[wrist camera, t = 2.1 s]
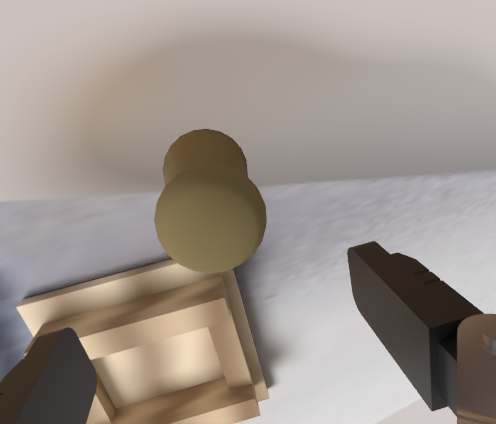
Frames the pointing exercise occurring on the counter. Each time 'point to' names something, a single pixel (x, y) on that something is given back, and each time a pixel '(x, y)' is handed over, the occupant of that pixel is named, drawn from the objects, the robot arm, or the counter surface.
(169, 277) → the cradle
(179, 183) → the olive pepper mill
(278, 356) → the counter surface
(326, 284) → the counter surface
